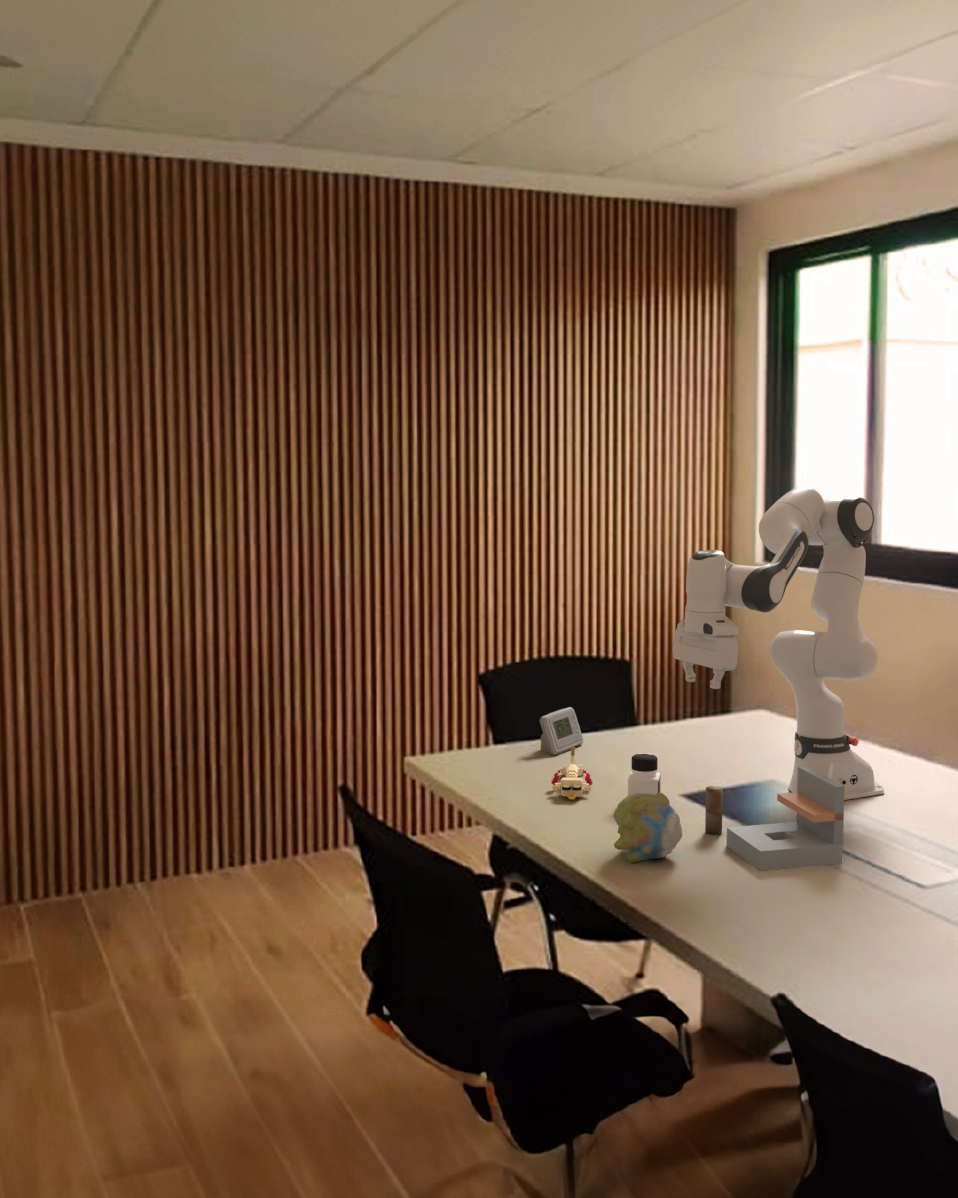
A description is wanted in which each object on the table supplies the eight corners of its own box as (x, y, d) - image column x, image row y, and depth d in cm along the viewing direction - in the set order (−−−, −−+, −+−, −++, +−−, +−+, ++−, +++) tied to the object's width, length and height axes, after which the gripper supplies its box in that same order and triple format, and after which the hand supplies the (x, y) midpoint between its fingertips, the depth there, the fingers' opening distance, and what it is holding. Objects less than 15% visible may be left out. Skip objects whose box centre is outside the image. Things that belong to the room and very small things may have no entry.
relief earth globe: (684, 787, 259) (638, 774, 271) (625, 823, 251) (580, 807, 264) (701, 848, 262) (654, 831, 275) (643, 884, 255) (598, 866, 268)
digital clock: (552, 757, 346) (552, 718, 344) (528, 751, 352) (528, 713, 351) (592, 747, 357) (592, 709, 355) (568, 741, 363) (568, 704, 362)
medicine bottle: (658, 809, 297) (658, 759, 295) (627, 808, 298) (627, 758, 297) (660, 801, 304) (660, 751, 302) (630, 799, 305) (630, 750, 304)
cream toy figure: (553, 779, 328) (550, 799, 303) (553, 746, 328) (550, 762, 303) (592, 780, 327) (592, 800, 303) (592, 746, 327) (592, 763, 302)
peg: (717, 829, 281) (718, 785, 280) (724, 834, 278) (725, 789, 277) (702, 831, 281) (703, 786, 279) (709, 836, 277) (709, 791, 276)
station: (804, 839, 275) (806, 766, 272) (842, 863, 259) (844, 786, 257) (726, 845, 270) (727, 772, 268) (760, 870, 255) (761, 792, 253)
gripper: (666, 618, 293) (665, 678, 294) (719, 629, 274) (717, 693, 276) (690, 617, 295) (688, 676, 297) (743, 628, 277) (741, 691, 278)
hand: (702, 684), depth 286 cm, fingers open, 8 cm apart
